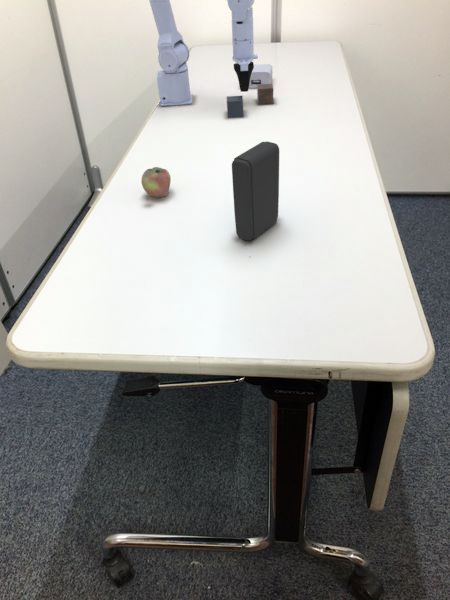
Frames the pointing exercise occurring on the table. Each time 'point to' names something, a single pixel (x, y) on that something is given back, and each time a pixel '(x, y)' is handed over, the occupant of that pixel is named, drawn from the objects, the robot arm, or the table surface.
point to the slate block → (235, 106)
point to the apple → (156, 182)
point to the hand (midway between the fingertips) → (244, 90)
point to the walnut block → (265, 94)
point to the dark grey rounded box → (256, 189)
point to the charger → (260, 75)
